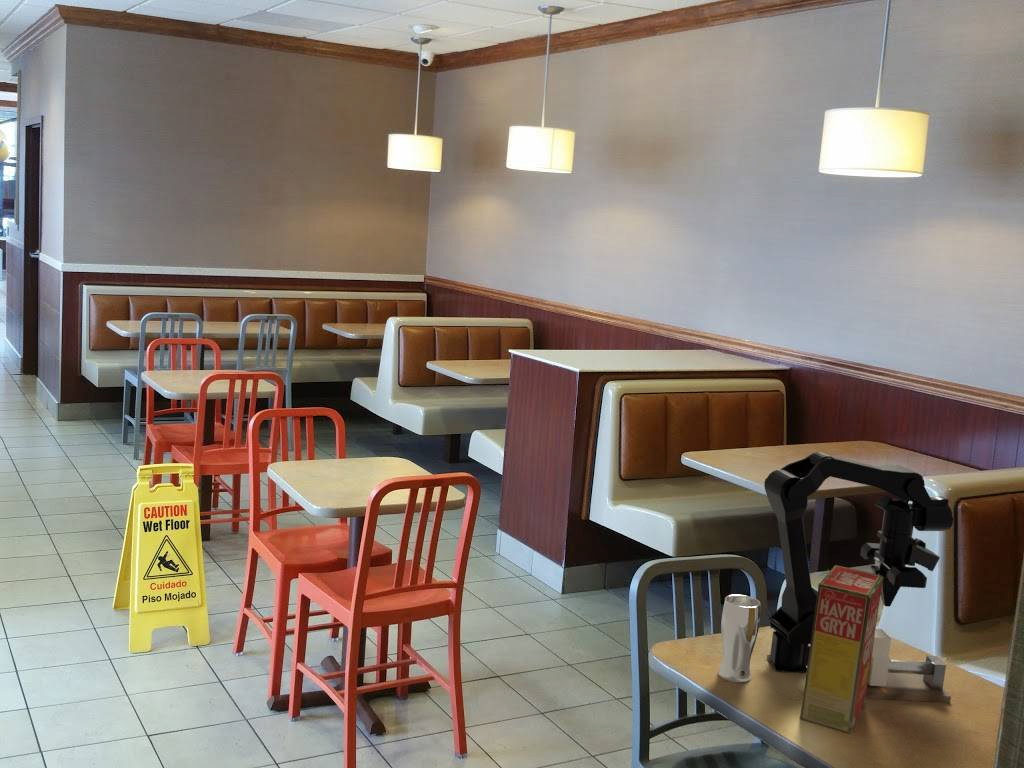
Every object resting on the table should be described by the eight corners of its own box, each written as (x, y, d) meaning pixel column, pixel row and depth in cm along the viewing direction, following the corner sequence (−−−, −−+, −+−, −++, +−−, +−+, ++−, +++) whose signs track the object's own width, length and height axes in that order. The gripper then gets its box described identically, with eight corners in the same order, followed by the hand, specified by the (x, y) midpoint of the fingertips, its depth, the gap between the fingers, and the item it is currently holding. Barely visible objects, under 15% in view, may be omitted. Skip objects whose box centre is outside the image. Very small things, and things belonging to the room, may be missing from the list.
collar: (870, 685, 191) (876, 638, 190) (859, 672, 197) (865, 627, 195) (885, 686, 192) (892, 639, 190) (874, 673, 197) (880, 627, 196)
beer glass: (750, 669, 199) (759, 596, 196) (755, 685, 192) (764, 609, 189) (714, 666, 199) (722, 592, 197) (717, 681, 192) (726, 605, 190)
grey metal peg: (853, 685, 192) (856, 660, 191) (846, 675, 196) (849, 651, 195) (942, 690, 193) (946, 665, 192) (933, 680, 197) (936, 656, 196)
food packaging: (852, 735, 175) (871, 596, 171) (797, 719, 180) (814, 582, 176) (867, 705, 187) (885, 574, 183) (815, 691, 191) (831, 563, 187)
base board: (854, 697, 190) (855, 690, 190) (838, 675, 199) (839, 669, 199) (950, 702, 191) (951, 695, 190) (929, 680, 200) (930, 674, 199)
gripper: (958, 548, 193) (947, 626, 196) (917, 519, 212) (907, 591, 214) (900, 544, 193) (890, 623, 195) (864, 516, 211) (854, 588, 214)
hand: (886, 605), depth 205 cm, fingers closed
